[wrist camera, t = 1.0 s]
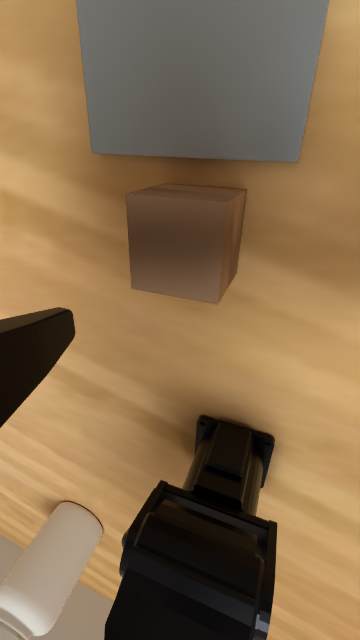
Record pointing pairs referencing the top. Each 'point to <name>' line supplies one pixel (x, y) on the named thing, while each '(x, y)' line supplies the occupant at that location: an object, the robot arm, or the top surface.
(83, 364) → the top surface
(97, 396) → the top surface
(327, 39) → the top surface
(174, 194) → the walnut block
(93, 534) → the pill bottle
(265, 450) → the robot arm
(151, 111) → the plate
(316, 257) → the top surface
